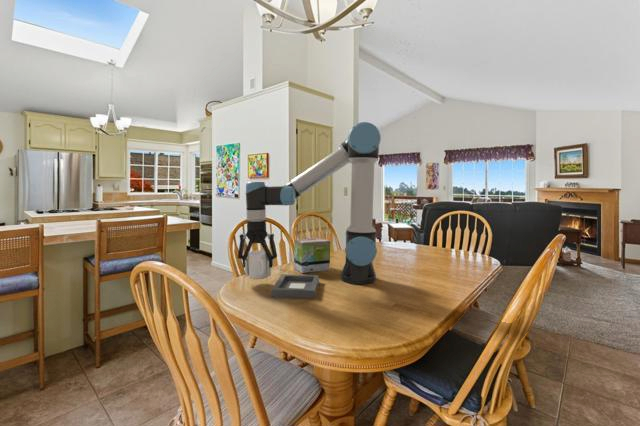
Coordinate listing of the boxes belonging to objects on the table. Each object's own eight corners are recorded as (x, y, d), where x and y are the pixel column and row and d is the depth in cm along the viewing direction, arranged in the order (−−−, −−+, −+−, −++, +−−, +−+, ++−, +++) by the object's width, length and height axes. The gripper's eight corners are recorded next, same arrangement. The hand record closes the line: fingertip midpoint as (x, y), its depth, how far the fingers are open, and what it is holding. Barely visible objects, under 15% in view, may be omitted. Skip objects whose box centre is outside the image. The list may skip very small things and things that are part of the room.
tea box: (302, 274, 151) (302, 242, 150) (293, 268, 160) (293, 239, 159) (330, 270, 158) (330, 240, 157) (320, 265, 167) (321, 237, 166)
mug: (274, 280, 129) (273, 254, 128) (253, 283, 126) (252, 257, 125) (266, 273, 140) (265, 249, 139) (246, 275, 137) (245, 251, 136)
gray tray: (318, 282, 139) (319, 275, 139) (314, 298, 119) (314, 290, 119) (281, 281, 140) (281, 274, 140) (271, 297, 120) (271, 289, 120)
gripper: (284, 219, 134) (285, 272, 136) (233, 219, 136) (235, 272, 138) (280, 221, 127) (281, 278, 129) (227, 221, 128) (229, 277, 130)
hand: (258, 275), depth 133 cm, fingers closed on mug, 8 cm apart
